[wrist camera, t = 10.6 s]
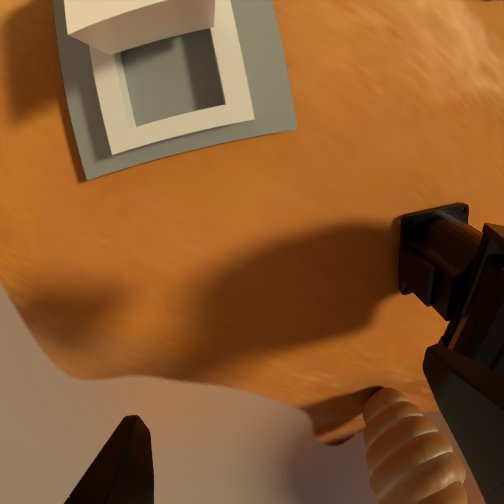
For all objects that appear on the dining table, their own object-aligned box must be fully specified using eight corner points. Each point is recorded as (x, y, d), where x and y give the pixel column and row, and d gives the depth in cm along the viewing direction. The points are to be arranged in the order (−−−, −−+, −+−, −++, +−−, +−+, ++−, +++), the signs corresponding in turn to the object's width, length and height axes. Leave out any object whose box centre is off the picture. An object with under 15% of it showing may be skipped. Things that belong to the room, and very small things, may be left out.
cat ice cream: (331, 423, 30) (383, 568, 14) (348, 375, 27) (426, 549, 10) (400, 407, 31) (463, 530, 15) (424, 359, 28) (512, 496, 11)
